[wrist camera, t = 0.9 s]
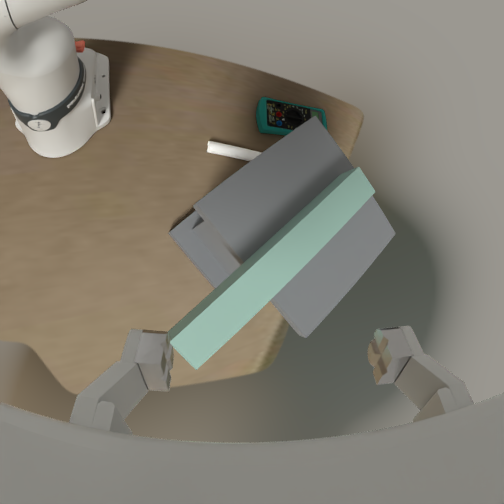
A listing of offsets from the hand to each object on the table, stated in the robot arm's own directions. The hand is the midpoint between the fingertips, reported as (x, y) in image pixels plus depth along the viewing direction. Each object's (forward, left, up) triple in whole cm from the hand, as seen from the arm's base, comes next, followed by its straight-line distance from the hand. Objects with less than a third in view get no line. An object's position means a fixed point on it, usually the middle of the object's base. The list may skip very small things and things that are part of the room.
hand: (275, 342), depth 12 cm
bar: (-4, +7, -15) cm, 17 cm away
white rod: (-22, +15, -42) cm, 49 cm away
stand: (-7, +11, -41) cm, 43 cm away
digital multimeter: (-31, +23, -42) cm, 57 cm away
